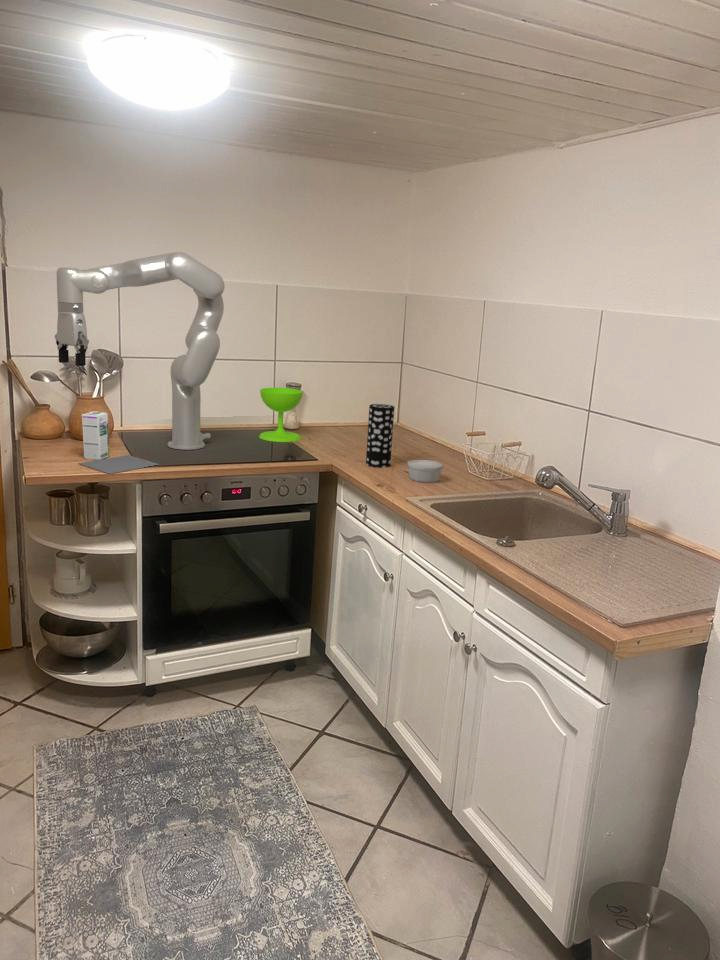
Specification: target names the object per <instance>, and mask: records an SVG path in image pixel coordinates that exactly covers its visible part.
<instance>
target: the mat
mask: <svg viewBox="0 0 720 960" xmlns="http://www.w3.org/2000/svg"><path fill="white" fill-rule="evenodd" d="M79 464H80V466H83V467H86V468H89V469H91V470H92V469H93V470H95V471H98V472H102V473H104V474H108V475H112V474H119V473H125V472H130V471H135V470H141V469H145V468H144V467H147V468H149V467H148V466H152V467H155V466H154V465H158V466H160V464H159V463H156V462H153V461H150V460H147V459H143V458H140V457H136V456H133V455H129V454H126V455H121V456H120V455H119V456H115V457H106V458H104V459H101V460H90V461H83V462H79V463H78V465H79ZM140 468H141V469H140Z"/></svg>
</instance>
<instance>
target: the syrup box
mask: <svg viewBox="0 0 720 960" xmlns="http://www.w3.org/2000/svg"><path fill="white" fill-rule="evenodd" d="M81 419H82V420H81V422H82V426H81V427H82V440H83V441H82V442H83V443H82V444H83V445H82V446H83V458H84V459H87V460H91V461H95V460H101V459H107V458H110V443H109V442H110V439H109V437H110V436H109V417H108V412H105V411H97V410H96V411H94V410H92V411H90V412H86V413H82V414H81Z"/></svg>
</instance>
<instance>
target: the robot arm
mask: <svg viewBox="0 0 720 960" xmlns="http://www.w3.org/2000/svg"><path fill="white" fill-rule="evenodd" d="M174 280H179V281H180V282H182V283H183V284H185V285H186V286H188V287H189V288H191V289H192V291H193V292H194V294H195V295H196V297H197V301H198V305H197V310H196V313H195V316H194V318H193V319H192V322H191V324H190V327H189V329H188V332H187V333H186V336H185V340H184V342H185V345H186V347H187V352H186V354H182V355H178V356H177V357H175V359H173V361H172V363H171V365H170V379H171V380H170V381H171V392H172V394H171V395H172V397H171V400H172V402H171V411H172V412H171V417H172V418H171V421H172V422H171V428H172V429H171V430H172V431H171V434H172V435H171V439H172V440H169V441H168V442H167V447H168V448H171V449H174V450H184V451H185V450H186V451H187V450H188V451H190V450H199V449H203V448H204V447H205V442H204V441H205V440H207V439H211V433H210V432H205V433H203V432H201V402H202V401H201V398H202V397H201V385H203V383H205V382H206V380H207V378H208V377H209V375H210V372H211V371H212V367H213V365H214V364H215V361H216V358H217V356H218V353H219V351H220V346H221V342H220V337H219V335H218V333H217V331H218V329H219V326H220V323H221V321H222V318H223V315H224V309H225V308H224V307H225V306H224V305H225V304H224V298H223V295H222V294H223V293H224V291H225V281H224V279H223V277H222V276H221V275H220V274H218V273H217V272H216V271H214V270H213V269H211V268H209V267H208V266H206V265H205V264H203V263H201V261H198V260H197V259H195V258H194V257H193V256H191V255H189V254H188V253H186V252H182V251H175V252H168V253H163V254H158V255H153V256H145V257H141V258H135V259H130V260H127V261H124V262H119V263H115V264H109V265H103V266H97V267H94V268H88V269H80V268H75V267H59V268H57V270H56V291H57V292H56V294H57V297H56V298H57V302H56V303H57V320H56V321H57V322H56V323H57V324H56V326H57V327H56V334H55V335H54V339H55V343H56V345H57V350H58V351H57V352H58V363H62V364H63V363H69V362H70V360H69V359H70V357H69V354H70V353H69V349H68V348H69V346H71V347H74V349H75V353H74V354H75V358H74V359H75V367H76V366H77V367H84V366H85V367H86V365H87V363H86V359H87V358H86V354H87V350H88V347H89V343H90V340H89V339H88V329H87V322H86V321H87V320H86V316H85V314H84V292H85V293H91V294H97V295H100V294H103V293H105V292H106V291H109V290H113V289H114V290H115V289H120V288H127V287H129V288H132V287H135V288H136V287H137V288H139V287H146V286H150V285H155V284H160V283H165V282H170V281H174Z"/></svg>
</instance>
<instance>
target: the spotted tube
mask: <svg viewBox="0 0 720 960" xmlns="http://www.w3.org/2000/svg"><path fill="white" fill-rule="evenodd" d="M368 410H369V411H368V423H367V438H366V439H367V440H366V453H365V455H366V457H365V465H366V466H367V467H371V468H378V469H380V468H381V469H383V468H384V469H385V468H390V467H391V459H392V447H393V436H394V435H393V434H394V419H395V406H394V405H392V404H391V405H390V404H382V403H373V404H369V409H368Z"/></svg>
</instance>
